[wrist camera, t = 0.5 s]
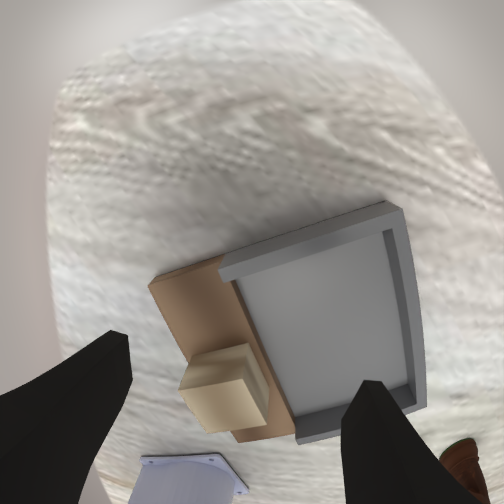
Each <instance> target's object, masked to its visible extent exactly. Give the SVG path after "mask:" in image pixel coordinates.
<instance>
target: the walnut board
mask: <svg viewBox="0 0 504 504" xmlns="http://www.w3.org/2000/svg"><path fill="white" fill-rule="evenodd" d="M224 256H225V254H223V255H220V256H217V257H214V258H212V259H209V260H206V261H203V262H200V263H197V264H194V265H191V266H188V267H185V268H182V269H179V270H176V271H173V272H170V273H167V274H164V275H161V276H158V277H155V278H154V279H153V280H152V281H151V282H150V284H149V285H148V288H149V290H150V292H151V294H152V296H153V298H154V300H155V302H156V304H157V306H158V308H159V310H160V312H161V314H162V316H163V318H164V320H165V321H166V323H167V325H168V327H169V329H170V331H171V333H172V335H173V336H174V338H175V340H176V342H177V344H178V346H179V347H180V349H181V351H182V353H183V355H184V356H185V358H186V360H187V362H188V363H189V362H190V359H191V357H192V356H195V355H200V354H204V353H208V352H213V351H217V350H221V349H225V348H230V347H234V346H238V345H242V344H246V343H249V345H250V347H251V350H252V352H253V354H254V356H255V358H256V360H257V363H258V365H259V367H260V369H261V371H262V373H263V375H264V378H265V380H266V382H267V384H268V386H269V400H268V415H267V425H263V426H257V427H251V428H245V429H238V430H232V431H231V433H232V434H233V436H234V437H235V439H236V440H237V442H238V443H243V442H250V441H256V440H262V439H268V438H274V437H279V436H285V435H290V434H295V416H294V414H293V412H292V409H291V407H290V405H289V403H288V400H287V398H286V396H285V394H284V391H283V389H282V387H281V385H280V382H279V380H278V378H277V376H276V373H275V371H274V369H273V367H272V364H271V362H270V360H269V357H268V355H267V353H266V351H265V348H264V346H263V344H262V341H261V339H260V337H259V334H258V332H257V330H256V327H255V325H254V323H253V320H252V318H251V316H250V313H249V311H248V309H247V306H246V304H245V302H244V299H243V297H242V295H241V292H240V290H239V287H238V285H237V283H236V280H232V281H229V282H225V283H223V281H222V279H221V277H220V274H219V272H218V268H219V266H220V264H221V262H222V260H223V258H224Z"/></svg>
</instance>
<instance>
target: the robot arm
mask: <svg viewBox="0 0 504 504" xmlns="http://www.w3.org/2000/svg"><path fill="white" fill-rule="evenodd" d="M132 381H133V378H132V370H131V361H130V352H129V342H128V335H126V334H123V333H119V332H116V331H112V330H110V331H108V332H107V333H105V334H103V335H102V336H100V337H99V338H97V339H96V340H94V341H93V342H92V343H90V344H89V345H87V346H86V347H84V348H83V349H81V350H80V351H78V352H77V353H75V354H74V355H72V356H71V357H69V358H68V359H66V360H65V361H63V362H62V363H60V364H59V365H57V366H55V367H54V368H52V369H51V370H49V371H47V372H45V373H44V374H42V375H40V376H39V377H37V378H35V379H33V380H32V381H30V382H28V383H26V384H24V385H22V386H20V387H18V388H16V389H14V390H12V391H10V392H7V393H5V394H3V395H0V504H78V502H79V499H80V495H81V492H82V489H83V486H84V484H85V481H86V478H87V475H88V473H89V470H90V467H91V465H92V463H93V461H94V459H95V457H96V455H97V453H98V451H99V449H100V447H101V445H102V443H103V442H104V440H105V438H106V436H107V434H108V432H109V431H110V429H111V427H112V425H113V423H114V421H115V419H116V418H117V416H118V414H119V412H120V410H121V408H122V406H123V404H124V401H125V399H126V397H127V394H128V391H129V389H130V386H131V383H132ZM341 456H342V466H343V476H344V486H345V497H346V504H483V503H482V502H480V501H479V500H478V499H477V498H476V497H474V496H473V495H472V494H471V493H470V492H469V491H468V490H466V489H465V488H464V487H463V486H462V485H461V484H460V483H459V482H458V481H457V480H456V479H455V478H454V477H453V476H452V475H451V474H450V473H449V471H448V470H447V469H446V468H445V467H444V466H443V465H442V464H441V463H440V461H439V460H438V459H437V458H436V457H435V455H434V454H433V453H432V452H431V450H430V449H429V448H428V447H427V445H426V444H425V443H424V441H423V440H422V439H421V437H420V436H419V435H418V433H417V432H416V430H415V429H414V428H413V426H412V425H411V423H410V422H409V420H408V419H407V418H406V416H405V415H404V413H403V412H402V410H401V409H400V407H399V406H398V404H397V403H396V401H395V400H394V398H393V397H392V395H391V394H390V392H389V391H388V390H387V388H386V387H385V385H384V384H383V383H382V381H374V380H363V382H362V384H361V386H360V387H359V389H358V391H357V393H356V395H355V397H354V398H353V400H352V402H351V404H350V405H349V407H348V409H347V410H346V412H345V414H344V416H343V417H342V419H341ZM139 461H140V462H141V463H142V464H143V467H142V469H141V472H140V474H139V477H138V479H137V482H136V484H135V487H134V489H133V492H132V494H131V497H130V499H129V502H128V504H232V499H233V495H240V494H248V493H249V489H248V488H247V487H246V486H245V484H244V483H243V482H242V481H241V480H240V478H239V477H238V476H237V475H236V474H235V472H234V471H233V470H232V469H231V467H230V466H229V465H228V464H227V462H226V461H225V460H224V459H223V457H222V456H221V455H219V454H208V455H194V456H173V457H140V459H139Z"/></svg>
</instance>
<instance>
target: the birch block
mask: <svg viewBox="0 0 504 504" xmlns="http://www.w3.org/2000/svg"><path fill="white" fill-rule="evenodd" d="M178 392H179V393H180V395H181V396H182V398H183V399H184V401H185V403H186V404H187V405H188V407H189V408H190V410H191V411H192V413H193V414H194V416H195V417H196V419H197V420H198V422H199V423H200V424H201V426H202V427H203V429H204V430H205V431H206V433H207V434H208V433H216V432H224V431H232V430H238V429H245V428H251V427H257V426H263V425H267V415H268V400H269V386H268V384H267V382H266V380H265V378H264V375H263V373H262V371H261V369H260V367H259V365H258V363H257V360H256V358H255V356H254V354H253V352H252V350H251V347H250V345H249V343H246V344H242V345H238V346H234V347H230V348H225V349H221V350H217V351H213V352H208V353H204V354H200V355H195V356H192V357H191V359H190V362H189V364H188V367H187V369H186V372H185V374H184V376H183V379H182V381H181V384H180V386H179V389H178Z"/></svg>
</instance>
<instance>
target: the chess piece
mask: <svg viewBox="0 0 504 504" xmlns="http://www.w3.org/2000/svg"><path fill="white" fill-rule="evenodd" d="M439 461H440V463H441V464H442V465H443V466H444V467H445V468H446V469H447V470H448V471H449V473H450V474H451V475H452V476H453V477H454V478H455V479H456V480H457V481H458V482H459V483H460V484H461V485H462V486H463V487H464V488H465V489H466V490H468V491H469V492H470V493H471V494H472V495H473V496H474V497H476V498H477V499H478V500H479V501H480V502H482V503H483V504H490V500H489V496H488V491H487V486H486V483H485V479H484V476H483V473H482V471H481V468H480V466H479V464H478V461H479V457H478V448H477V446H476V442H475V441H474V440H473V439H464V440H461V441H459V442H457V443H455V444H453V445H452V446H450V447H449V448H448V449H446V450H445V451H444V452H443V453H442V455H441V456H440V460H439Z"/></svg>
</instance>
